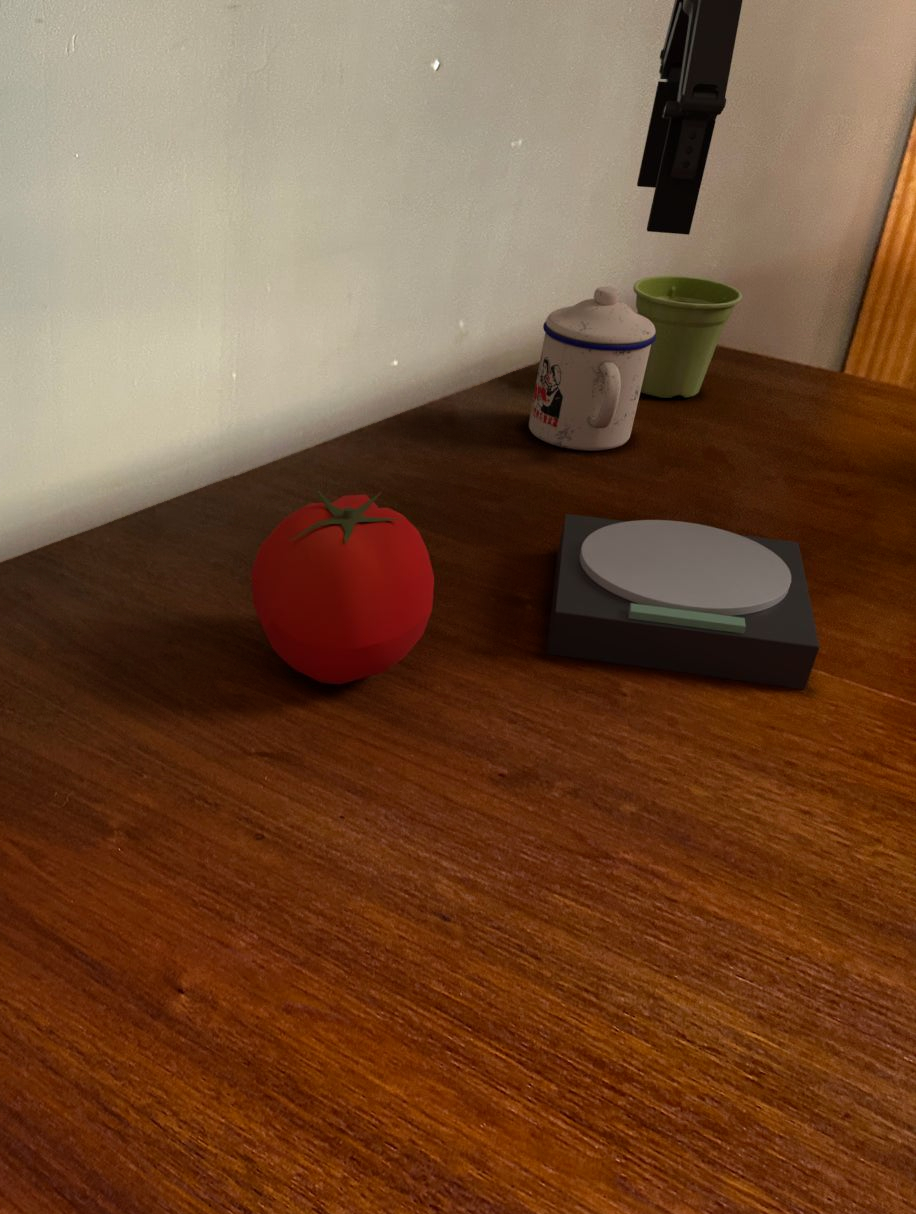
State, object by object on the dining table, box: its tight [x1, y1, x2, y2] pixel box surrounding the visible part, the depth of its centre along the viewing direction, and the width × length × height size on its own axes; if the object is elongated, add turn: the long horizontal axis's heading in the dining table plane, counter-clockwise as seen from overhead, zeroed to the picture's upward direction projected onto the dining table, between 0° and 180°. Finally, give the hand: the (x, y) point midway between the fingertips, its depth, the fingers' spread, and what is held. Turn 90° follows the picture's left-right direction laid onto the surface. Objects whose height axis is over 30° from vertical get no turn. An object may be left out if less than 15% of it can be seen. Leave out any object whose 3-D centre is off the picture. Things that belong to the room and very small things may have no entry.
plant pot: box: [632, 275, 743, 399], centre depth 129 cm, size 9×9×9 cm
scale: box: [546, 513, 820, 690], centre depth 95 cm, size 16×16×4 cm
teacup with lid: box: [528, 286, 656, 452], centre depth 117 cm, size 12×9×12 cm
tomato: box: [250, 490, 435, 686], centre depth 86 cm, size 11×13×10 cm
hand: (661, 208), depth 99 cm, fingers open, 13 cm apart
